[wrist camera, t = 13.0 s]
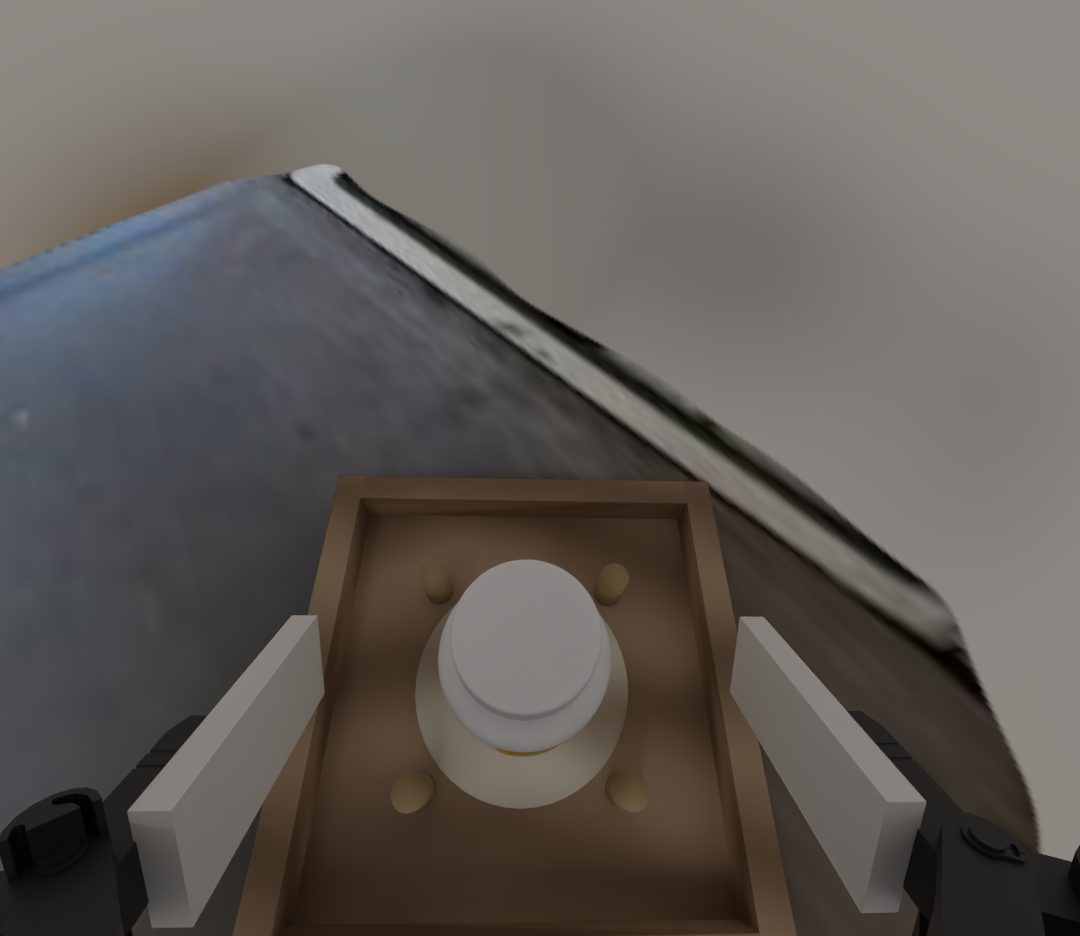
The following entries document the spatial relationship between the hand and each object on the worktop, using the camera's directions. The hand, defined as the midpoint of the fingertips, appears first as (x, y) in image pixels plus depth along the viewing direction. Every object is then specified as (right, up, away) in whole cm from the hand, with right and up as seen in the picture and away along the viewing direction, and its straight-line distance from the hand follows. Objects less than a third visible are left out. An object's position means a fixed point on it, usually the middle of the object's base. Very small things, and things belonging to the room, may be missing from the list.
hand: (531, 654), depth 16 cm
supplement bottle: (0, -3, +6) cm, 7 cm away
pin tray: (0, -4, +7) cm, 8 cm away
